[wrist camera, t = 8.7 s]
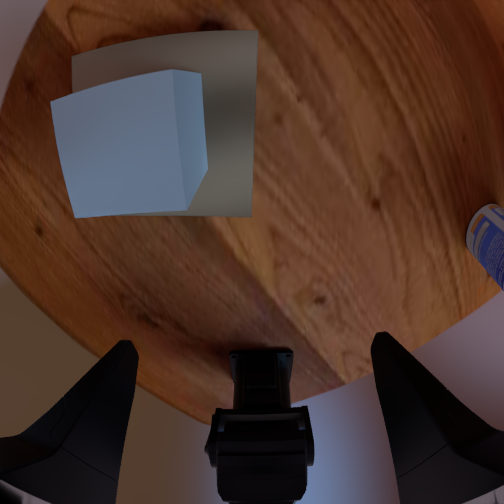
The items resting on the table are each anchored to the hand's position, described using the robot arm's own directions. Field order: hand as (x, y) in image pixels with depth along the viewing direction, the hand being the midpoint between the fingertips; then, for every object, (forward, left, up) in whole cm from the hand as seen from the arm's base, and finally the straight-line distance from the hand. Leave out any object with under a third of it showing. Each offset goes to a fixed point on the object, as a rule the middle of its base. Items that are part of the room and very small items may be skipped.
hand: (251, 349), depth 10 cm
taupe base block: (+6, +5, -12) cm, 14 cm away
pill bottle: (-2, -21, -12) cm, 24 cm away
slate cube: (+6, +5, -8) cm, 11 cm away
